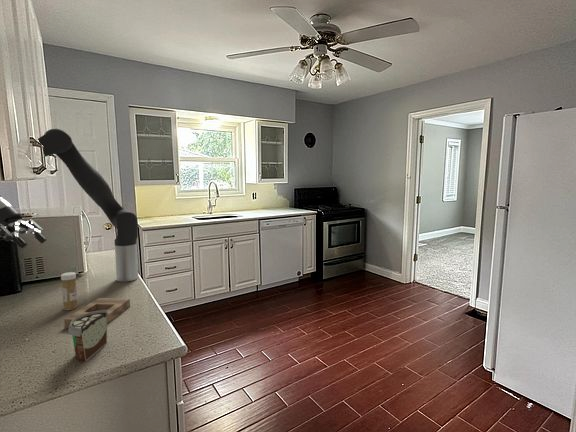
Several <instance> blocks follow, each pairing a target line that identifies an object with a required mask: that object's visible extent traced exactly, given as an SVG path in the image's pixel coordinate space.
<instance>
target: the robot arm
mask: <svg viewBox="0 0 576 432" xmlns="http://www.w3.org/2000/svg"><path fill="white" fill-rule="evenodd" d="M37 139H38V140H39V142H40V143H41V144H42V145H43V146H44V154H45V157H44V158H46V157H49V156H53V155H56V156H57V157H58V158H59V160H60V161H62V163H64V165H65V166H66V167H67V168H68V171H70V173H71V175H72V176H73V178H74V180H75V181H76V182H77V184H78V185H79V186H80V188H81V189H82V190H83V191H84V192H85V193H86V194H87V195H88V196H89V197H90V199H91V200H92V201H93V202H94V203H95V204H96V205H97V206H98V207H100V209H101V210H102V211H103V212H104V214H105V216H106V217H107V219H108V220H109V222H110V223H111V225H112V226H113V227H114V228H116V237H115V238H114V254H115V255H114V257H115V271H116V272H115V274H116V276H115V277H116V281H117V282H121V283H122V282H123V283H125V282H132V281H135V280H137V279H138V277H139V264H138V262H139V260H138V259H139V258H138V249H137V245H138V244H137V240H138V236H139V235H138V233H139V229H138V228H139V225H138V217H137V215H136V214H135V213H133V211H128V210H126V209H125V208H124V207H123V206H121V205H120V203H119V202H118V201H117V200H116V198H115V195H114V194H113V191H112V189H111V188H110V186H109V185H110V184H108V182H107V181H106V180H105V178H104V177H103V175H101V174H100V172H99V171H98V170H97V169H96V168H95V167H94V166H93V165H92V164H91V163H90V162H89V161H88V160H87V159H86V158H85V157H84V156H83V155H82V154H81V152H80V151H79V150H78V148H77V146H76V145H75V143H74V141H73V139H72V137H71V136H70V134H69V133H68V132H67V131H65V130H63V129H60V128H51V129H48V130H46V131H45V132H44V134H43V135H42V136H39V137H38V138H37ZM22 215H23V214H22V213H20V212H19V210H18V209H16V208H15V207H14V206H13V204H11V203H10V202H9V201H8V200H6V199H5V198H4V197H3V196H1V195H0V237H1V238H2V239H3V240H4V241H6V242H9V241H11V242H13V243H15V244H16V245H17V246H18V247H19V248H21V249H24V248H26V247H27V246H28V243H27V242H26V241H25V240H24V239H23V238H22V237H21V236H19V235H20V234H21V235H23V234H25V235H31V236H33V237H34V238H35V239H36V240H37V241H38V242H39V243H40V244H45V242H47V238H46V237H45V235H43V234H42V231H44V228H43V227H41V226H40V225H39V224H38V223H37V222H35V221H34V220H33V219H31V218H30V219H29V220H27V221H26V220H24V219H23V216H22Z"/></svg>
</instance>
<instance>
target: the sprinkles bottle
mask: <svg viewBox="0 0 576 432" xmlns="http://www.w3.org/2000/svg"><path fill="white" fill-rule="evenodd" d="M76 279H77V273H76V272H74V271H69V272H64V273H62V274H60V280H61V285H62V286H61V287H62V288H61V290H62V293H61V294H62V301H63V302H62V303H63V311H64V310H65V311H71V310H75V309H77V308H78V307H79V304H78V290H77V281H76Z"/></svg>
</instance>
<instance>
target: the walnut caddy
mask: <svg viewBox="0 0 576 432" xmlns="http://www.w3.org/2000/svg"><path fill="white" fill-rule="evenodd" d="M130 307H131V299H130V298H114V297H113V298H111V297H107V298H106V297H98V298H96V299H94V301H92V302H90V303H89V304H87V305H85V306H84V307H82V308H80V309H78V310H77V311H76V312H73V313H72V314H70V315H69V316H67V317H65V318H64V319H63V323H64V329H69V326H70V324H71V321H72V320H73V319H75V318H76V317H78V316H80V315H83V314H85V313H89V312H93V311H99V310H107V312H108V315H109V316H107V325H108V324H109V323H111V322H112V321H114V320H115V319H116V318H117V317H119V316H120V315H122V313H123V312H125V311H126V310H128V309H129V308H130Z"/></svg>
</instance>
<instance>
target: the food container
mask: <svg viewBox="0 0 576 432" xmlns="http://www.w3.org/2000/svg"><path fill="white" fill-rule="evenodd" d="M107 316H109V315H108V312H107V310H99V311H93V312H89V313H85V314H83V315H80V316H78V317H76V318H75V319H73V320H72V321H71V324H70V326H69V328H68V330H67V331H68V334H69V335H71V336H72V342H73V349H74V353H75V357H76V358H75V359H76V360H78V361H79V362H83V363H84V362H87V361H88V360H90V359H91V358H92V357H93V356H94V355H95V354H97V353H98V352H99V351H100V350H101V349H102V348H103V347H104V346H106V345H107V344H108V324H107Z"/></svg>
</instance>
